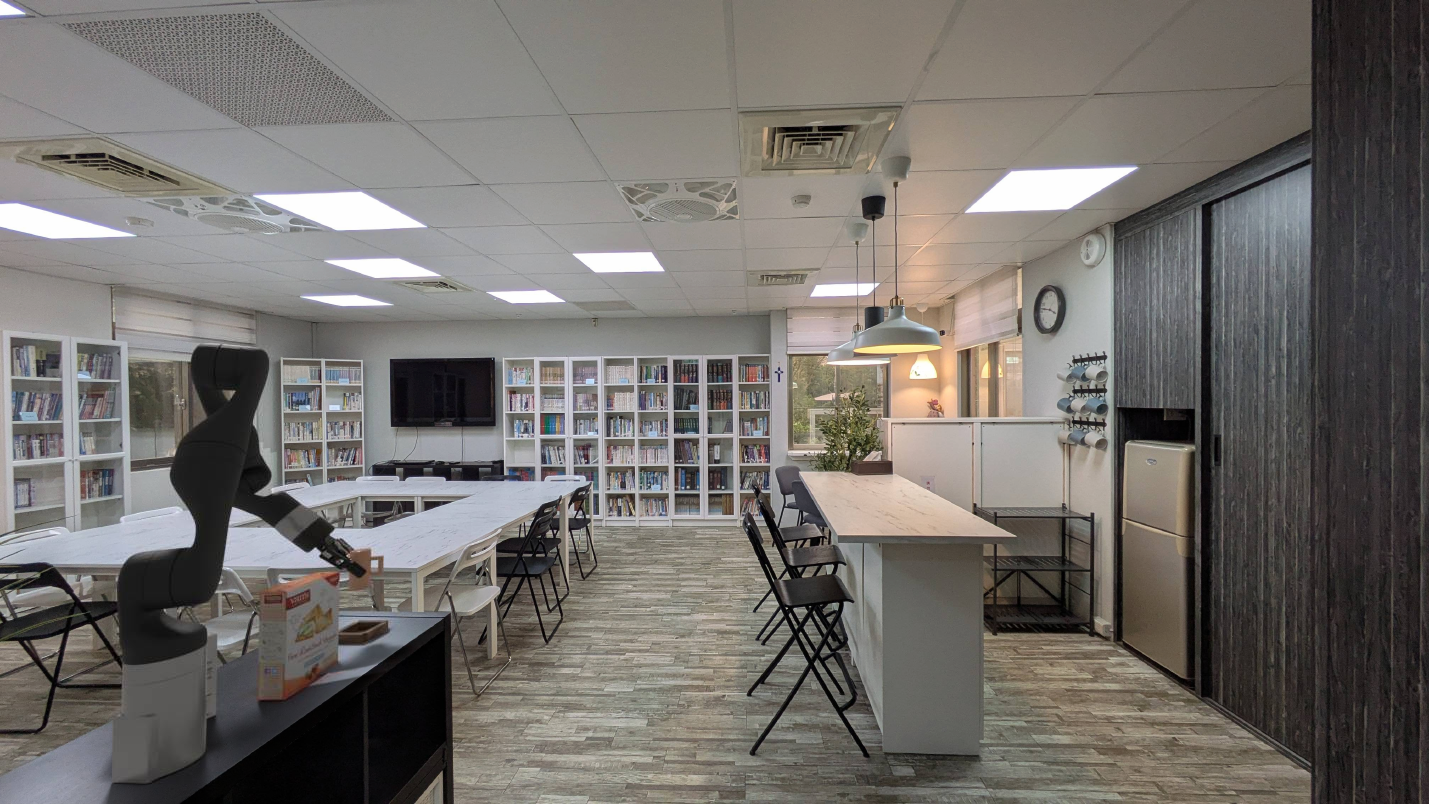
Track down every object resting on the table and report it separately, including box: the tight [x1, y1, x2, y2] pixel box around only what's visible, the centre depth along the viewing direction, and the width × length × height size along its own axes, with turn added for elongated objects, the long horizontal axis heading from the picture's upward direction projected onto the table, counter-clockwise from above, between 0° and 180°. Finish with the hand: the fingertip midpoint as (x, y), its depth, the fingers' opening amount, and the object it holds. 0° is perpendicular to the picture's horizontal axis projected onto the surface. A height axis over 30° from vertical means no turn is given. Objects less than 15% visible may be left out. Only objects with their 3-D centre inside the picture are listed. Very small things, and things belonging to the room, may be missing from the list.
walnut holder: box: [338, 619, 393, 645], centre depth 126 cm, size 10×10×4 cm
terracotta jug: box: [348, 548, 385, 592], centre depth 127 cm, size 4×7×9 cm, turn 114°
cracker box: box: [256, 571, 341, 701], centre depth 106 cm, size 14×6×21 cm, turn 179°
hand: (365, 572), depth 127 cm, fingers closed on terracotta jug, 4 cm apart
